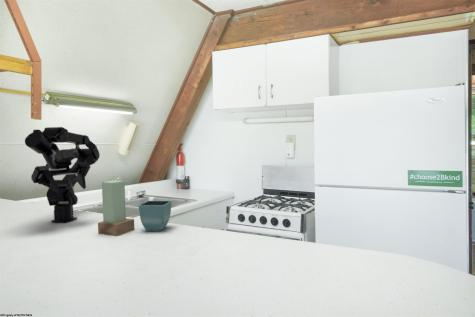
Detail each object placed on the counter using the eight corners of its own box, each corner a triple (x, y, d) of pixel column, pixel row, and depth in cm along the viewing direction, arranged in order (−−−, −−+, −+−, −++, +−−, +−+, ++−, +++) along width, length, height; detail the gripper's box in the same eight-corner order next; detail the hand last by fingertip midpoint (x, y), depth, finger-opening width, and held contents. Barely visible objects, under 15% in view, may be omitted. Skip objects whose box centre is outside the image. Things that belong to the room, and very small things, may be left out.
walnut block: (98, 235, 114) (97, 222, 113) (116, 228, 121) (115, 217, 121) (117, 237, 110) (116, 224, 110) (134, 230, 118) (134, 219, 117)
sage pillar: (103, 221, 115) (101, 182, 114) (116, 218, 119) (114, 180, 118) (113, 223, 112) (111, 183, 111) (125, 220, 116) (124, 181, 115)
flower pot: (173, 226, 121) (172, 200, 121) (165, 232, 113) (164, 205, 112) (148, 226, 122) (147, 200, 122) (138, 232, 114) (137, 205, 113)
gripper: (33, 141, 114) (52, 177, 108) (86, 140, 129) (105, 171, 124) (23, 165, 119) (41, 200, 113) (75, 161, 134) (93, 192, 129)
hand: (72, 190), depth 120 cm, fingers open, 9 cm apart
